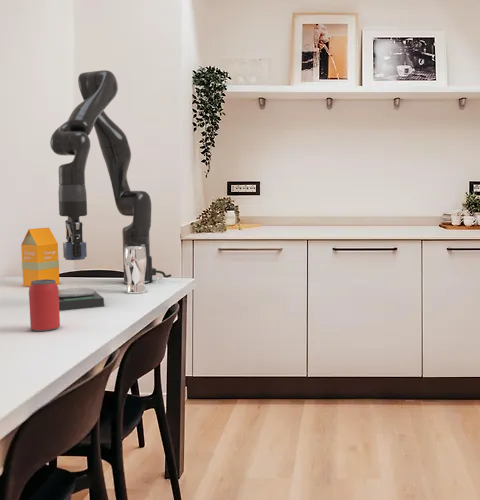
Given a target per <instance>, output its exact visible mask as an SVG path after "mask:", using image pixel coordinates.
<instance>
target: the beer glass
mask: <svg viewBox="0 0 480 500" xmlns="http://www.w3.org/2000/svg"><path fill="white" fill-rule="evenodd" d="M124 264H125V270H126V274H127V280H128V284H127V285H126V293H127V294H142V293H146V292H147V288H146V283H145V282H144V278H145V271H146V249H145V247H144V246H129V247H125V250H124Z"/></svg>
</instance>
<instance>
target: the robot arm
mask: <svg viewBox="0 0 480 500" xmlns="http://www.w3.org/2000/svg"><path fill="white" fill-rule="evenodd" d="M77 82H78V84H77V85H78V89H79V92H80V95H81V98H82V100H83V101H82V102H80V103H79V104H77V106H76V107H75V108H73V110H72V111H71V113H70V115H69V117H68V119H67V120H66V121H65V122H64V123H63V124H61V125H60V126H59V127H57V129H55V130H54V132H52V134H51V137H50V140H49V145H50V148H51V150H52V152H53V153H54V154H55V155H58V156H73V160H72V161H71V162H67V163H62V164H60V165H59V166H58V212H59V213H58V215H59V216H60V217H67V219H66V220H65V222H64V223H65V240H66V242H71V243H72V252H73V257H81V245H80V244H81V243H82V241H83V242H84V240H83V225H84V224H83V222H82V221H81V220H80V217H86V216H87V215H88V202H87V199H88V198H87V197H88V196H87V189H86V166H87V161H88V157H89V155H90V150H91V140H90V139H91V138H90V137H89V136H90V134H91V132H92V130H93V128H94V131H95V134H96V137H97V141H98V145H99V148H100V151H101V154H102V158H103V159H104V162H105V165H106V169H107V173H108V176H109V180H110V183H111V188H112V193H113V198H114V202H115V207H116V209H117V211H118V213H119V214H121V215H122V216H124V217H132V222H131V223H130V224H129V225H126V226H124V227H122V230H121V235H122V263H123V284H124V285H125V284H126V285H128V280H127V274H126V270H125V264H124V250H125V247H129V246H144V247H145V249H146V271H145V278H144V282H145V284H149V283H153V276H157V274H161V275H162V276H163V278H171V277H172V274H166V273H165V272H164V271H163V270H157V268H155V267H153V257H152V256H151V244H150V241H151V240H150V239H151V238H150V230H151V227H152V199H151V196H150V194H149V193H148V192H147V191H145V190H131V188H130V184H129V182H128V170H129V167H130V164H131V161H132V160H131V159H132V150H131V147H130V143H129V141H128V137H127V135H126V133H125V132H124V131H123V129H122V128H121V127H119V126H118V124H116V123H115V122H114V121H113V120H112V119H111V118H110V117H109V116H108V114H106V112H105V109H106V108H107V107H108V106H109V105H110V104H111V102H112V101H113V100H114V99H115V98H116V96H117V95H118V90H119V85H118V80H117V77H116V76H115V74H114V73H113V72H112V71H110V70H107V69H102V70H93V71H85V72H81V73H80V74H79V75H78V78H77Z"/></svg>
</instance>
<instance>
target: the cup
mask: <svg viewBox="0 0 480 500" xmlns="http://www.w3.org/2000/svg"><path fill="white" fill-rule="evenodd" d="M80 245H81V257H73V252H72V243H71V242H68V241H64V242H62V253H63V256H62V257H63V258H64V259H65V260H66V261H80V260H81V261H82V260H85V259H86V257H88V255H87V253H88V251H87V241H84V240H83V241H82V243H81V244H80Z"/></svg>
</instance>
